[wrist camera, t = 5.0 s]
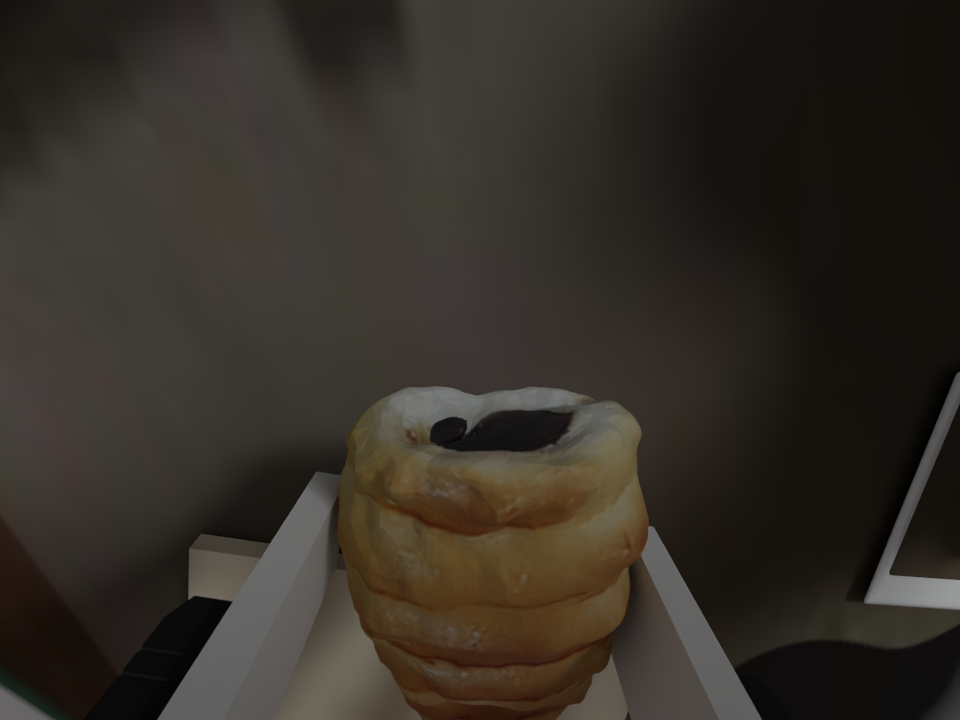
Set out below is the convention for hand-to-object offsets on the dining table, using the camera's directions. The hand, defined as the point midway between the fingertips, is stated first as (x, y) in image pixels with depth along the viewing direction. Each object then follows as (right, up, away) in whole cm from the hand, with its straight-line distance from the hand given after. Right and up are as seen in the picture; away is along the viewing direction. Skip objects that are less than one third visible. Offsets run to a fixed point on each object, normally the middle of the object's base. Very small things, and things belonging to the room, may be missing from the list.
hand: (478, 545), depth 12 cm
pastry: (0, +1, 0) cm, 1 cm away
